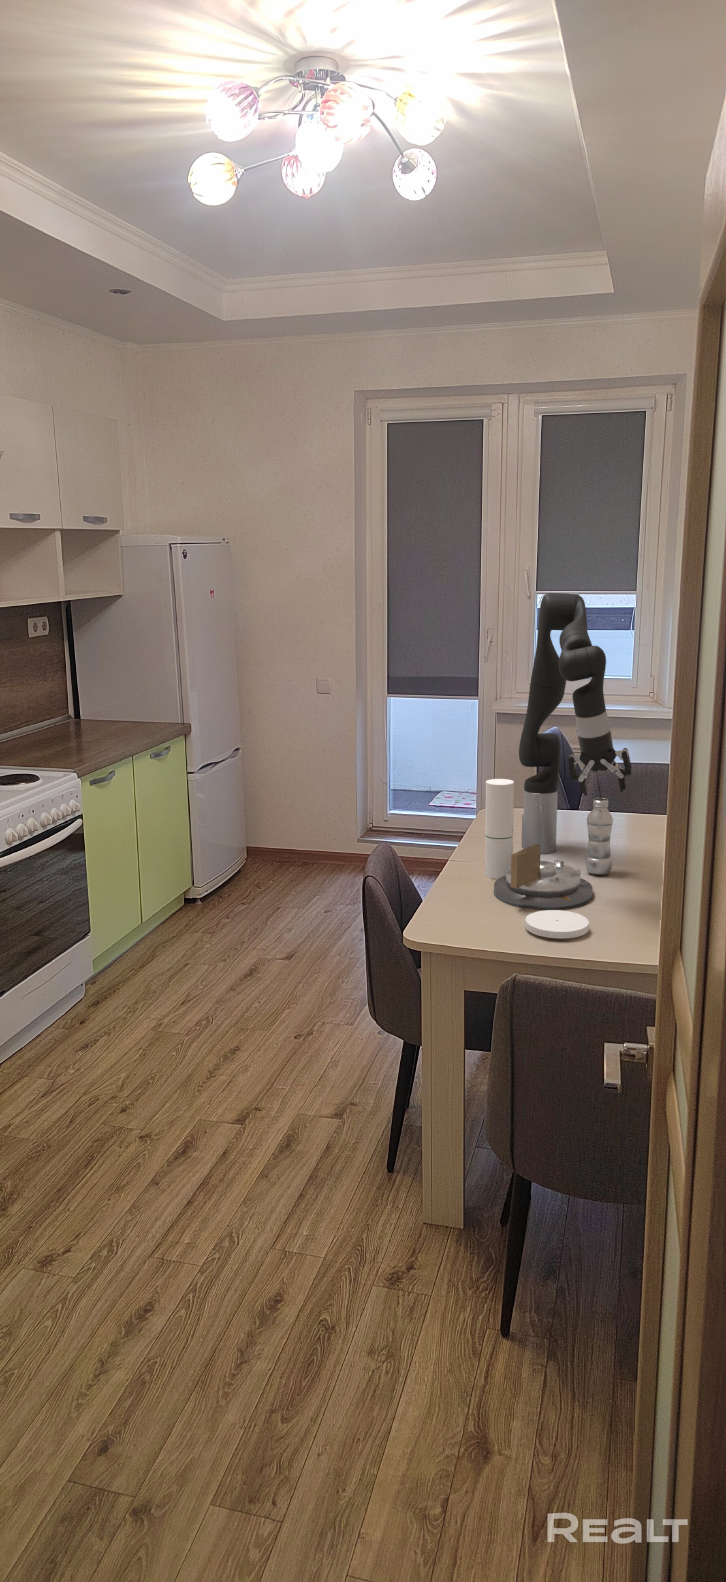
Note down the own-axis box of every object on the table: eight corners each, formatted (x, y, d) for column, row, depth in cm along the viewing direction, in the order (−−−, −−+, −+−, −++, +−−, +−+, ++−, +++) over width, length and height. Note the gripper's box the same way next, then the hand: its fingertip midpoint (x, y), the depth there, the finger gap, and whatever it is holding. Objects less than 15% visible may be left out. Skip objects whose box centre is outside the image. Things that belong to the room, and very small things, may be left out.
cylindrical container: (514, 872, 274) (516, 779, 269) (509, 880, 268) (510, 785, 262) (488, 869, 277) (489, 778, 271) (482, 877, 270) (483, 784, 265)
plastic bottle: (612, 878, 268) (614, 802, 263) (585, 877, 269) (587, 802, 265) (611, 870, 274) (614, 796, 270) (585, 869, 275) (587, 796, 271)
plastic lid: (519, 921, 239) (519, 911, 238) (578, 919, 240) (579, 908, 239) (533, 944, 225) (533, 933, 225) (596, 941, 226) (597, 930, 226)
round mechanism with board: (529, 869, 269) (530, 828, 266) (593, 882, 258) (594, 839, 255) (481, 892, 251) (481, 849, 249) (547, 907, 240) (548, 861, 238)
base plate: (476, 886, 264) (476, 877, 263) (558, 874, 272) (559, 866, 272) (524, 915, 242) (524, 906, 241) (612, 901, 250) (612, 893, 250)
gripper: (626, 720, 243) (635, 783, 249) (565, 727, 248) (576, 788, 254) (623, 733, 237) (633, 796, 243) (561, 739, 242) (572, 802, 248)
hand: (604, 792), depth 248 cm, fingers open, 8 cm apart
